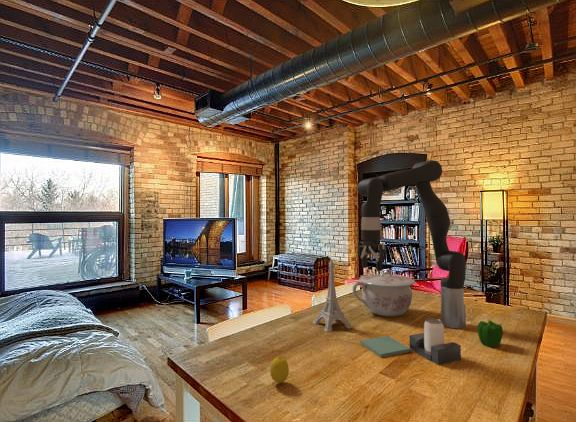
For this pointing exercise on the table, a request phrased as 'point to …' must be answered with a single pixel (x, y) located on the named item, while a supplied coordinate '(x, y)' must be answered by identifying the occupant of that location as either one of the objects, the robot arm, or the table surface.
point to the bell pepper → (490, 333)
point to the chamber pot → (385, 293)
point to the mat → (385, 346)
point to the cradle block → (436, 350)
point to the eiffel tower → (331, 305)
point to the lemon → (279, 369)
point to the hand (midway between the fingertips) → (371, 269)
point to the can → (433, 333)
